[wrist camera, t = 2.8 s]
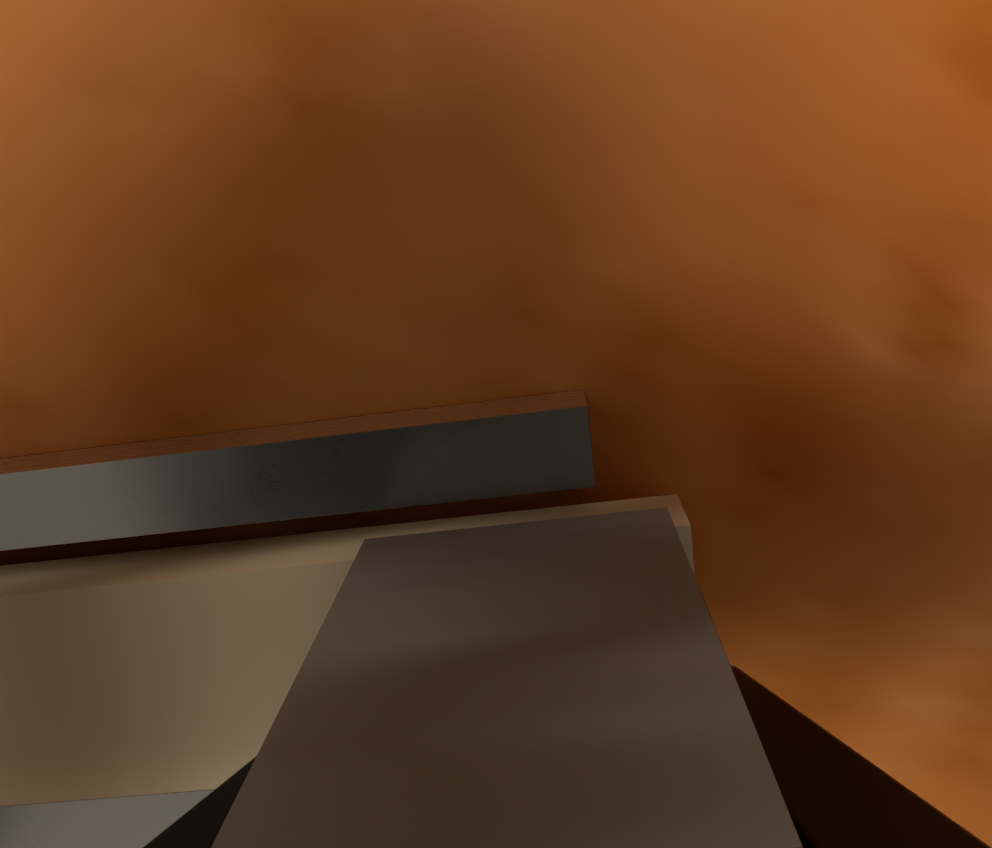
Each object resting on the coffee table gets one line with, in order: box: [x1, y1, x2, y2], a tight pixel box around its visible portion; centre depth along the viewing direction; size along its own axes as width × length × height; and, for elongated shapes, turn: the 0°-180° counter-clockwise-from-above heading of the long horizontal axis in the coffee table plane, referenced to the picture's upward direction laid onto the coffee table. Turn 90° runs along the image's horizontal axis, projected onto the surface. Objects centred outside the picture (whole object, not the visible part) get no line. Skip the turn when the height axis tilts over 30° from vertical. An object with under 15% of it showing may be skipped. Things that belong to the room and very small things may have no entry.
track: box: [0, 390, 596, 848], centre depth 11 cm, size 13×6×1 cm, turn 98°
